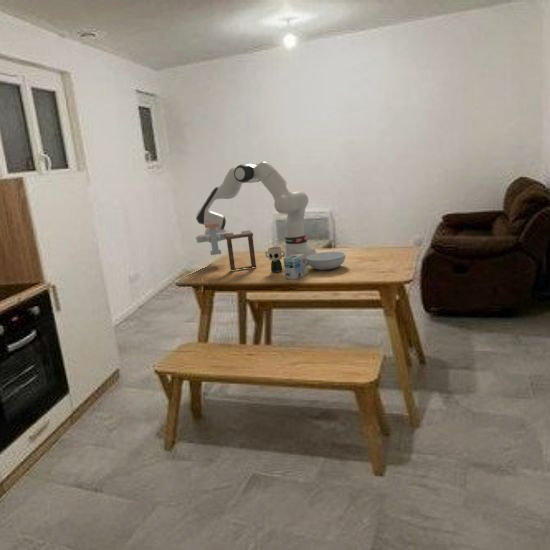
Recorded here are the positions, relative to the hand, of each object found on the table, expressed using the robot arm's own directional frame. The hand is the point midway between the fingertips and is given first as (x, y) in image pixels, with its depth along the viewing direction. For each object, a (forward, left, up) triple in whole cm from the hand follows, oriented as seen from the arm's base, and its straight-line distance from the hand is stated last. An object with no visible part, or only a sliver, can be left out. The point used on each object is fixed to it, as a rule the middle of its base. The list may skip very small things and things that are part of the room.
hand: (213, 239), depth 291 cm
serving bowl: (-63, -30, -17) cm, 72 cm away
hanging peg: (+1, 0, -9) cm, 9 cm away
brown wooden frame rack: (-17, -6, -17) cm, 25 cm away
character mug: (-44, -11, -17) cm, 49 cm away
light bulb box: (-62, -10, -17) cm, 66 cm away
